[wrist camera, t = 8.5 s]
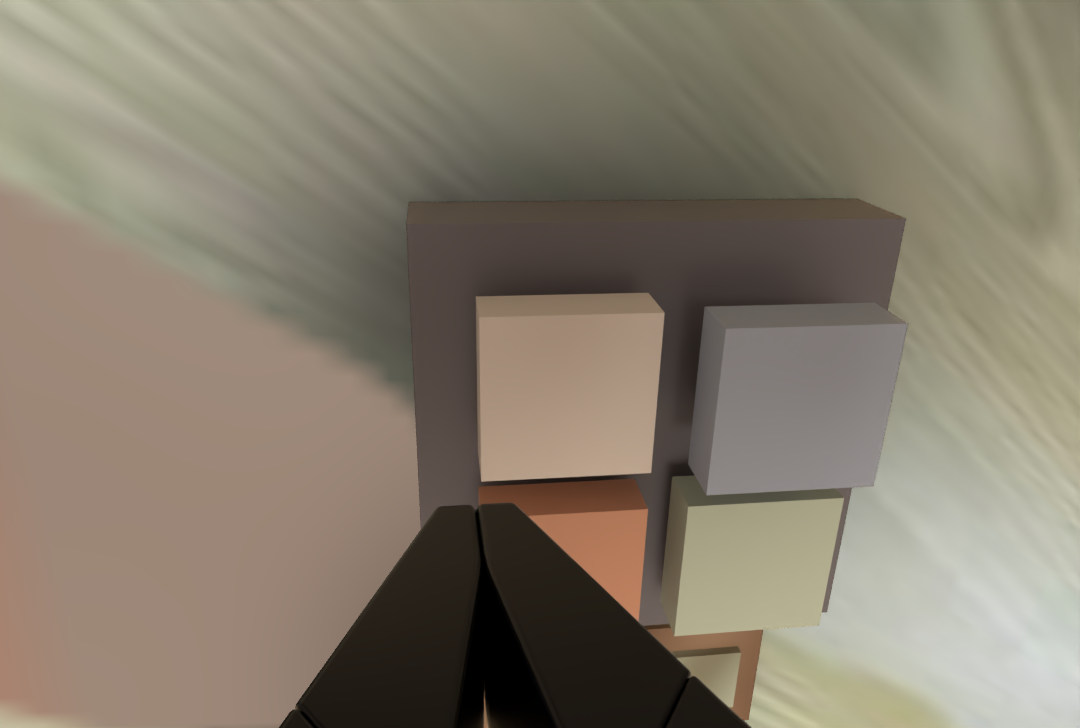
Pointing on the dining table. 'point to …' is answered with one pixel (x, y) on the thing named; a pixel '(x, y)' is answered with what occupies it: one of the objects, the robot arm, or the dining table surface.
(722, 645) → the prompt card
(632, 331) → the cream key
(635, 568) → the rust key
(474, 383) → the keypad board
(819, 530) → the sage key
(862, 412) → the slate-blue key
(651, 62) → the dining table surface
